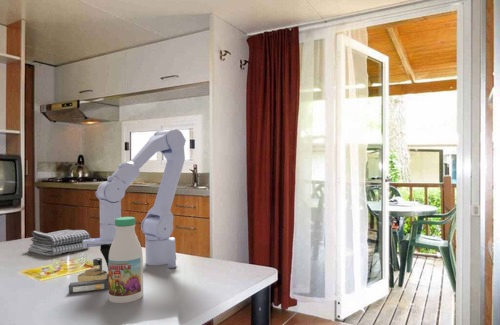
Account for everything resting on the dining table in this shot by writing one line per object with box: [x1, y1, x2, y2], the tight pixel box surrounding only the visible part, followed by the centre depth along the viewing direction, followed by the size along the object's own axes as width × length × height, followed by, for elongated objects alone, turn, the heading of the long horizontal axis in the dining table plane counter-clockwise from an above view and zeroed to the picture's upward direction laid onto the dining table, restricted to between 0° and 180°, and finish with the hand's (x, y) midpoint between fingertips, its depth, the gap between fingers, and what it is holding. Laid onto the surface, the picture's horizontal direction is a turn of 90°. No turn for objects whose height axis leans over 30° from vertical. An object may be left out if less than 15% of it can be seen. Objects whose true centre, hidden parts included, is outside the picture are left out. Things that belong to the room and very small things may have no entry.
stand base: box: [68, 278, 109, 295], centre depth 92 cm, size 16×16×3 cm
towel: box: [27, 229, 91, 257], centre depth 133 cm, size 15×18×8 cm
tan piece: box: [77, 257, 108, 282], centre depth 94 cm, size 15×7×4 cm, turn 17°
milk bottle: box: [107, 216, 144, 304], centre depth 82 cm, size 8×8×20 cm
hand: (111, 270), depth 99 cm, fingers closed
